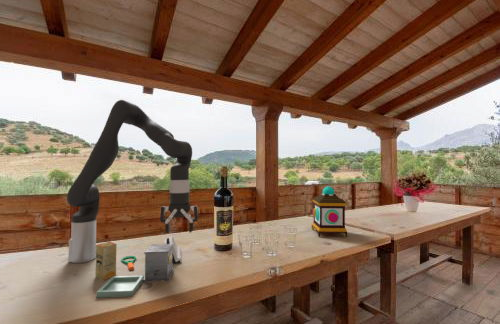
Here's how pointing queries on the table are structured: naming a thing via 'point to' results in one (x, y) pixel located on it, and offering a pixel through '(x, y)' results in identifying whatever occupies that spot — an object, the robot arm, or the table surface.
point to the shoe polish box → (105, 260)
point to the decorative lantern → (329, 213)
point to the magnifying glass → (129, 262)
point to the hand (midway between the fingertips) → (179, 232)
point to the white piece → (174, 249)
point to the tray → (120, 286)
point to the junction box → (158, 262)
